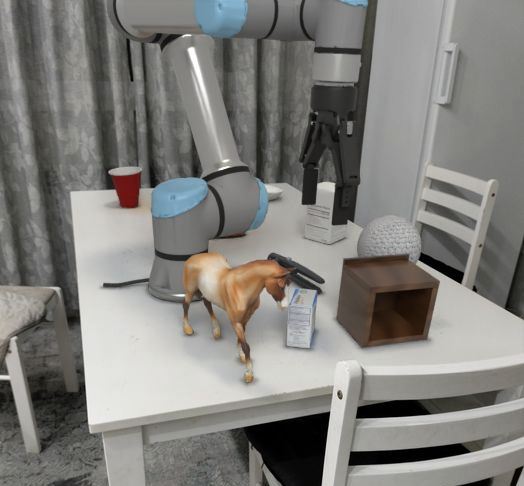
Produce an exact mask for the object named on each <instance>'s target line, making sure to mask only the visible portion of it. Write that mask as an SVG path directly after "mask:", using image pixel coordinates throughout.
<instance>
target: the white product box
mask: <svg viewBox="0 0 524 486" xmlns="http://www.w3.org/2000/svg"><path fill="white" fill-rule="evenodd" d="M336 183H337V182H336ZM336 183H335V182H331V181H322V182H318V183H317V195H316V204H315V205H306V210H305V212H306V213H305V227H304V239H308V240H312V241H315V242H319V243H322V244H326V245H331V244H334V243H336V242H338V241H340V240H342V239H345V238H346V236H347V235H346V234H347V226H348V224H347V225H335V226H333V225H331V223H332V213H333V203H334V193H335V186H334V185H335V184H336Z"/></svg>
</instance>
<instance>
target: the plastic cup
mask: <svg viewBox="0 0 524 486" xmlns="http://www.w3.org/2000/svg"><path fill="white" fill-rule="evenodd" d="M142 171H143V168H142V167H140V166H122V167H116V168H112V169H110V170H108V174H109V175H110V177H111V179H112V182H113V185H114V189H115V193H116V196H117V197H118V202H119V205H120V207H121V208H124V209H132V208H133V209H134V208H138V206H139V203H140V202H139V201H140V200H139V199H140V192H141V191H140V189H141V188H140V187H141V179H142V177H141V176H142Z"/></svg>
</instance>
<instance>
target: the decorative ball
mask: <svg viewBox="0 0 524 486" xmlns="http://www.w3.org/2000/svg"><path fill="white" fill-rule="evenodd" d="M421 253H422V238H421V235H420V232H419V231H418V229H417V228H416V226H415V225H414V223H412V222H411V221H410V220H408V219H407V218H405V217H403V216H400V215H396V214H387V215H381V216H379V217H376V218H374V219H372V220H371V221H369V222H368V223H367V224H366V225H364V227H363V228H362V230H361V232H360V234H359V235H358V239H357V243H356V255H357V257H368V256H382V255H395V254H409V260H410V261H411V262H413V263H414V264H416V265H417V263H418V261H419V259H420V257H421Z"/></svg>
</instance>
